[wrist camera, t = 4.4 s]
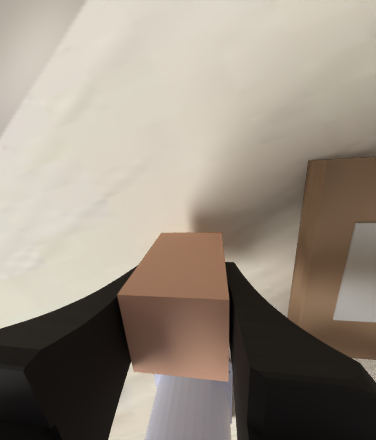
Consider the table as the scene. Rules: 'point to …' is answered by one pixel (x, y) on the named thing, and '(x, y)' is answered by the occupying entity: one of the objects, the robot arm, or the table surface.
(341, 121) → the table surface
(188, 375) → the terracotta block
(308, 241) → the base board
